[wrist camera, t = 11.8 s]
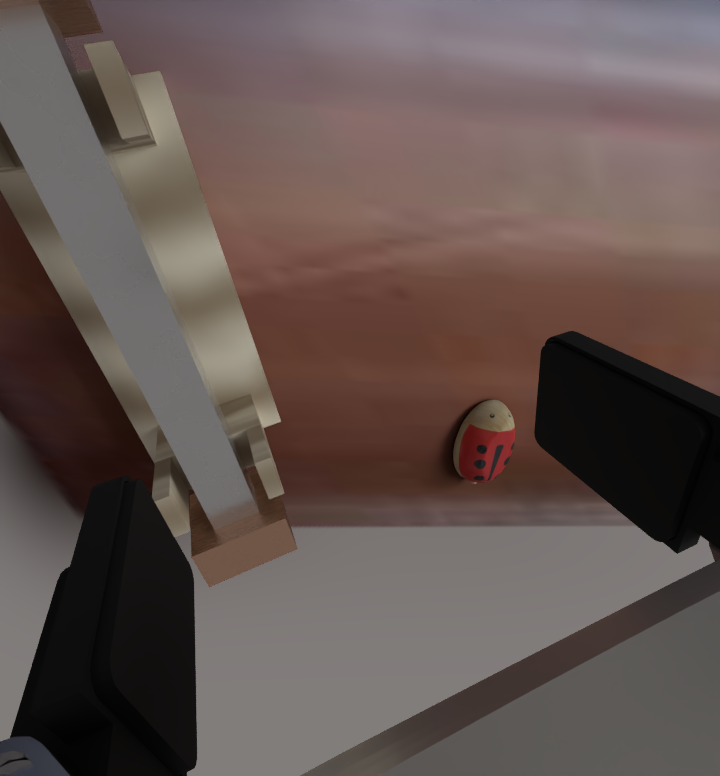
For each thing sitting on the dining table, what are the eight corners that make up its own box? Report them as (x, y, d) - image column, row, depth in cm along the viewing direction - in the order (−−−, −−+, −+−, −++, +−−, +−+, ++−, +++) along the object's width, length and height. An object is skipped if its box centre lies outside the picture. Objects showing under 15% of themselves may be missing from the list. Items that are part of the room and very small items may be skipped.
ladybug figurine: (512, 393, 45) (536, 409, 42) (493, 470, 49) (513, 489, 46) (458, 399, 43) (479, 416, 40) (442, 479, 47) (460, 500, 44)
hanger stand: (-38, 108, 22) (-171, 69, 14) (160, 75, 24) (150, 23, 16) (157, 458, 34) (149, 551, 26) (278, 414, 36) (307, 487, 28)
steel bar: (-98, -43, 17) (-218, -136, 12) (67, -59, 18) (24, -149, 13) (204, 523, 33) (209, 587, 28) (280, 493, 34) (297, 548, 29)
